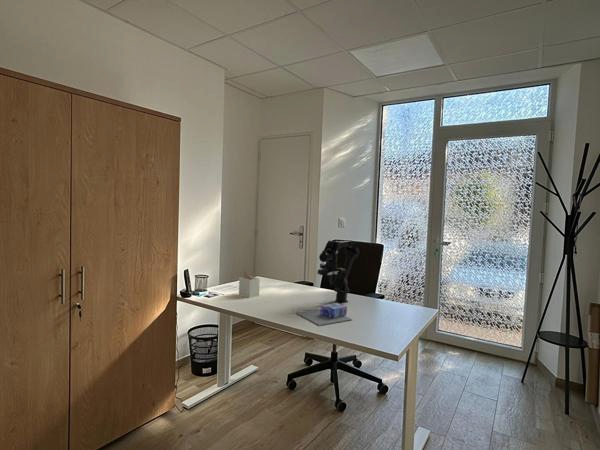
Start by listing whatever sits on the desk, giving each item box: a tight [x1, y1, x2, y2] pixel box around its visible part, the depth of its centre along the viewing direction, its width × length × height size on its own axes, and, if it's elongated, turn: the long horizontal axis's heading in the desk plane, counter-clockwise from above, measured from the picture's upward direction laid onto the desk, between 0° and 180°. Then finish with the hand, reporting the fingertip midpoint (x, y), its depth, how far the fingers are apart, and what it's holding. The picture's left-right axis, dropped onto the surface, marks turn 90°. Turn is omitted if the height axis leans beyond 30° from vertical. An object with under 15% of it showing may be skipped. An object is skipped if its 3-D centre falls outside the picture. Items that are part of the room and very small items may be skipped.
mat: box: [295, 308, 353, 327], centre depth 201 cm, size 22×24×1 cm
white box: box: [238, 270, 261, 299], centre depth 243 cm, size 9×11×17 cm
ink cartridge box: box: [319, 302, 348, 319], centre depth 203 cm, size 10×6×14 cm
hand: (331, 284), depth 226 cm, fingers closed
